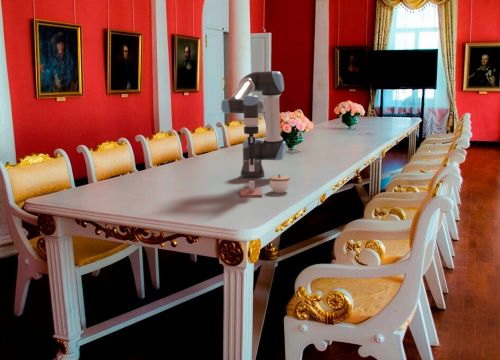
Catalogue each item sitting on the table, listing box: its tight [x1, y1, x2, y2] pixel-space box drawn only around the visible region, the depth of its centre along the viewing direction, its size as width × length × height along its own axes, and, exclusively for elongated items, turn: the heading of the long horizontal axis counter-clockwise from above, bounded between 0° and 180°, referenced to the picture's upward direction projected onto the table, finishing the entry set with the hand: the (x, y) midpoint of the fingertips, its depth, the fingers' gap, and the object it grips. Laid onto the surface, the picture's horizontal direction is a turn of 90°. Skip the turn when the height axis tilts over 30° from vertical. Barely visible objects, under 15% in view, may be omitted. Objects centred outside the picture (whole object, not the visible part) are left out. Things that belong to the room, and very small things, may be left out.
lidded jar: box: [269, 173, 291, 194], centre depth 282 cm, size 11×11×9 cm
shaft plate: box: [240, 180, 263, 198], centre depth 277 cm, size 16×11×7 cm
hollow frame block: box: [244, 160, 260, 172], centre depth 275 cm, size 8×7×5 cm
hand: (251, 170), depth 275 cm, fingers closed on hollow frame block, 7 cm apart
